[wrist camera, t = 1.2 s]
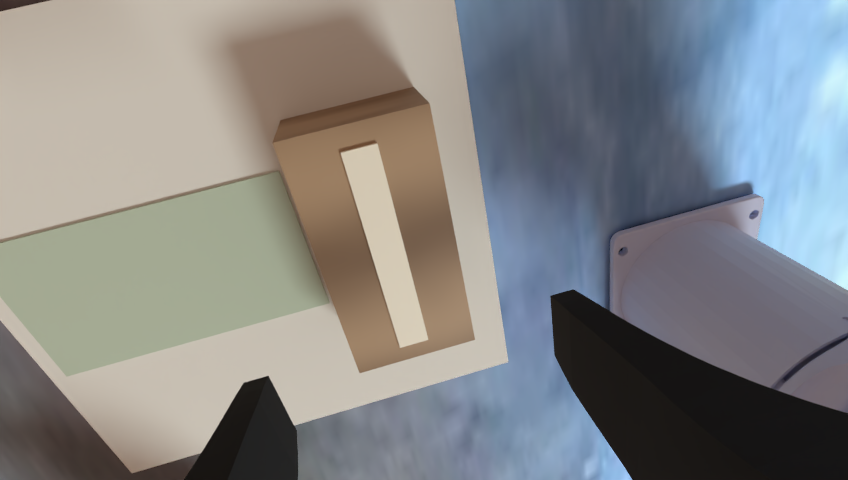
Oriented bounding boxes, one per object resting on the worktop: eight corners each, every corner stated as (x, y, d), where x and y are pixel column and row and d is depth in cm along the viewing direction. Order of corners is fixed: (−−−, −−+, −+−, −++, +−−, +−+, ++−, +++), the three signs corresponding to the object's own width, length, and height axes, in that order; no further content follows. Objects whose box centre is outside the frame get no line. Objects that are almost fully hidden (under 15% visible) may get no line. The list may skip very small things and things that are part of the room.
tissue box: (457, 298, 22) (475, 341, 19) (355, 327, 21) (359, 375, 19) (413, 86, 17) (430, 103, 14) (280, 119, 17) (271, 143, 14)
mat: (504, 354, 25) (508, 363, 24) (136, 462, 24) (131, 475, 23) (437, -85, 15) (442, -88, 14) (-202, 59, 14) (-226, 61, 13)
